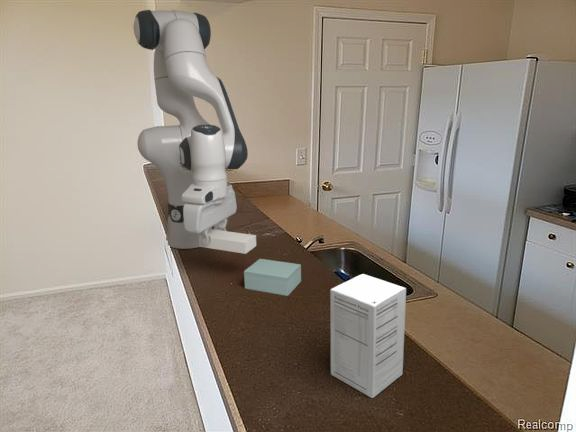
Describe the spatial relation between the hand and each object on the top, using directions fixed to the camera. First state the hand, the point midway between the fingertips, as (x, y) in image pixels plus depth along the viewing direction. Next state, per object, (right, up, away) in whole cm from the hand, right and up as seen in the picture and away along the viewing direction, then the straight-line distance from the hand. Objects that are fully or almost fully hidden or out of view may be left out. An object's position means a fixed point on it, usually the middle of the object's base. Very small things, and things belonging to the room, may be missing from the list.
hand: (214, 238), depth 116 cm
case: (+16, -12, -4) cm, 20 cm away
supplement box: (+34, -22, -40) cm, 57 cm away
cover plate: (+4, -2, -1) cm, 4 cm away
